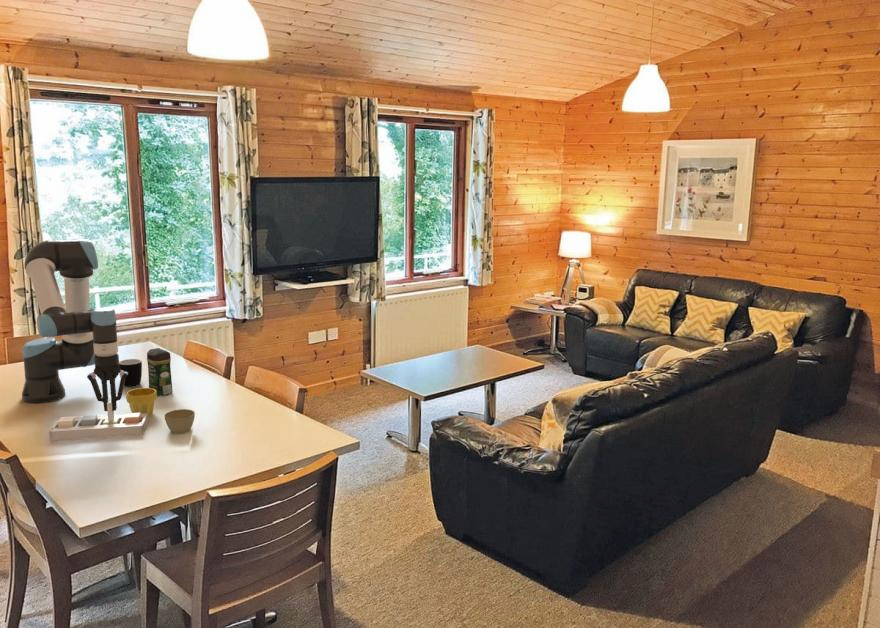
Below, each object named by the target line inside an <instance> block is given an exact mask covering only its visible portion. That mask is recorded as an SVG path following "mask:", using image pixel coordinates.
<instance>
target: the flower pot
mask: <svg viewBox="0 0 880 628" xmlns="http://www.w3.org/2000/svg"><path fill="white" fill-rule="evenodd" d="M195 415H196V412H195V410H192V409H186V408H185V409H184V408H183V409H182V408H181V409H174V410H171V411H170V410H169V411H168V412H166V413H165V414H164V415H163V416H164V421H165V424H166V426H167V428H168V429H169V431H170V432H171V433H172V434H176V435H181V434H182V435H183V434H185V433H188V432H190V430H191V429H192V427H193V424H194V421H195Z"/></svg>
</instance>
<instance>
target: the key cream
mask: <svg viewBox="0 0 880 628" xmlns="http://www.w3.org/2000/svg"><path fill="white" fill-rule="evenodd" d="M75 417H76V416H60V417H59V418H60V419H59V418H58V419H59V421H58V428H60V427H74V425H75V424H76V420H75Z"/></svg>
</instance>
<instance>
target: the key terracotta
mask: <svg viewBox="0 0 880 628" xmlns="http://www.w3.org/2000/svg"><path fill="white" fill-rule="evenodd" d="M140 420H141V415H140V413H132V412H128V413H126V416H125V423H139V422H140Z"/></svg>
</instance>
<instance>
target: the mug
mask: <svg viewBox="0 0 880 628" xmlns="http://www.w3.org/2000/svg"><path fill="white" fill-rule="evenodd" d="M119 366H120V367H121V370H123V371H124V372H128V375H127V377H126V378H125V383H124V387H126V388H131V387H137V386H140V384H141V382H142V376H143V375H142V374H143V371H142V370H143V362H142V360H141V359H138V358H128V359H122V360H119Z"/></svg>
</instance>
